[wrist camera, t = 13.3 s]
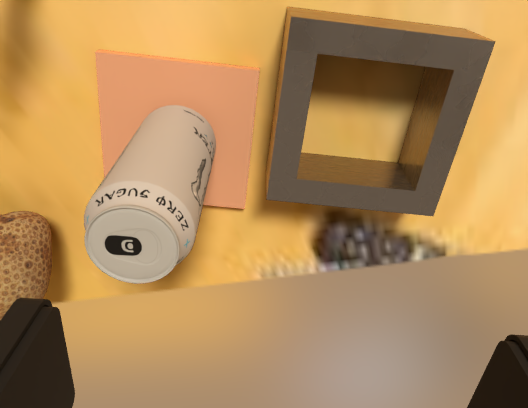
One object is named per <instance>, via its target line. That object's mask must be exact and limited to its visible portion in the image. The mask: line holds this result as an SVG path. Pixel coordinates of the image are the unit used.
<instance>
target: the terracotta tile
mask: <svg viewBox="0 0 528 408" xmlns="http://www.w3.org/2000/svg"><path fill="white" fill-rule="evenodd" d="M95 53H96V67H97V81H98V94H99V108H100V122H101V136H102V150H103V164H104V178H105V177H106V175H107V174H108V172H109V171H110V169H111V168H112V166H113V165H114V164H115V162H116V161H117V159H118V158H119V156H120V155H121V153H122V152H123V150H124V149H125V147H126V146H127V144H128V143H129V141H130V140H131V139H132V137H133V136H134V134H135V133H136V131H137V130H138V128H139V127H140V125H141V124H142V122H143V121H144V119H145V118H146V117H147V116H148V115H149V114H150V113H151V112H153V111H154V110H156V109H158V108H160V107H164V106H168V105H179V106H185V107H187V108H190V109H193V110H194V111H196V112H198V113H199V114H201V115H202V116H203V117H204V118H205V119H206V120H207V121H208V123H209V124H210V126H211V127H212V129H213V131H214V135H215V138H216V150H215V155H214V160H213V164H212V168H211V173H210V177H209V181H208V186H207V190H206V194H205V199H204V203H203V205H210V206H220V207H230V208H241V209H245V200H246V191H247V182H248V172H249V163H250V154H251V145H252V135H253V126H254V117H255V107H256V98H257V89H258V79H259V69H260V68H253V67H244V66H236V65H227V64H218V63H210V62H201V61H193V60H184V59H175V58H167V57H158V56H150V55H141V54H132V53H124V52H115V51H106V50H98V51H96V52H95Z"/></svg>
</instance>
